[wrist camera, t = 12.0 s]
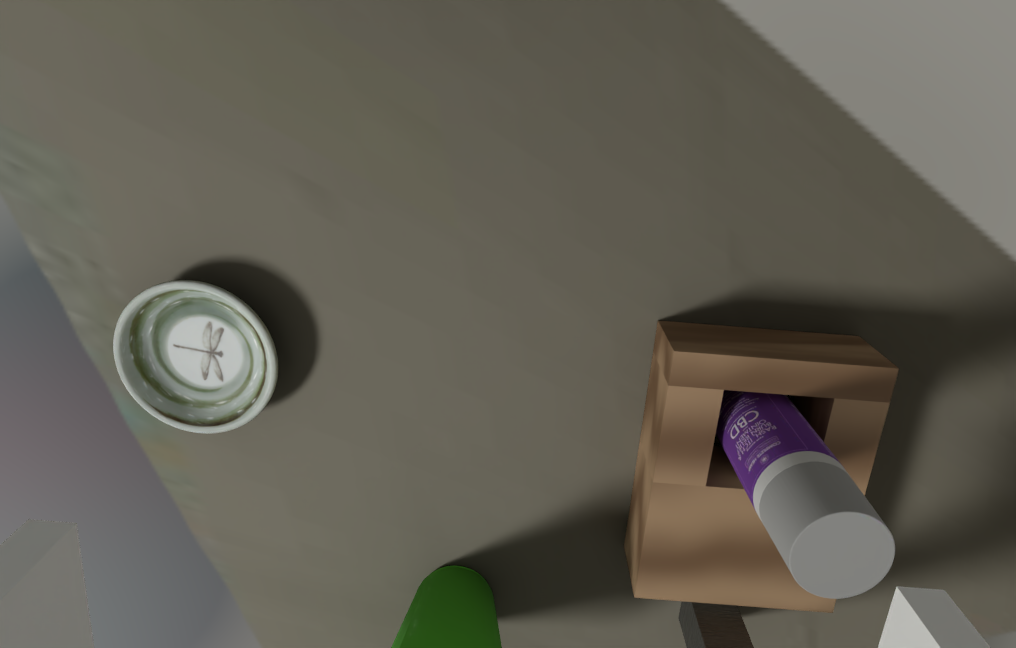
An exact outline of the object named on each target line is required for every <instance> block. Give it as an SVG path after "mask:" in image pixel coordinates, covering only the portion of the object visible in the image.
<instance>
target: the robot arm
mask: <svg viewBox="0 0 1016 648" xmlns="http://www.w3.org/2000/svg"><path fill="white" fill-rule="evenodd" d="M0 648H94V643H93V636H92V629H91V622H90V615H89V608H88V601H87V594H86V587H85V580H84V573H83V566H82V559H81V552H80V545H79V538H78V531H77V524H76V523H67V522H54V521H42V520H27V521H26V522H25V523H24V524H23V525H22V526H21V527H20V528H19V529H17V530H16V531H15V532H14V533H13V534H12V535H11V536H10V537H9V538H8V539H6V541H4V542H3V543H2V544H1V545H0ZM878 648H990V646H989V645H988V644H987V643H986V641H985V640H984V639H983V638H982V636H981V635H980V634H979V633H978V631H977V630H976V629H975V628H974V626H973V625H972V624H971V623H970V621H969V620H968V619H967V618H966V616H965V615H964V614H963V613H962V611H961V610H960V609H959V608H958V606H957V605H956V604H955V603H954V601H953V600H952V599H951V598H950V596H949V595H948V594H947V593H946V591H945V590H938V589H925V588H912V587H899V586H897V587H896V590H895V593H894V597H893V600H892V603H891V606H890V610H889V613H888V616H887V620H886V623H885V626H884V630H883V633H882V636H881V639H880V643H879V646H878Z"/></svg>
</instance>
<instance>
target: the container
mask: <svg viewBox="0 0 1016 648" xmlns="http://www.w3.org/2000/svg"><path fill="white" fill-rule="evenodd" d="M716 435H717V437H718V439H719V441H720V443H721V445H722V447H723V449H724V451H725V453H726V455H727V457H728V458H729V460H730V462H731V464H732V466H733V468H734V470H735V472H736V474H737V476H738V478H739V480H740V482H741V484H742V486H743V488H744V490H745V491H746V493H747V495H748V497H749V499H750V501H751V503H752V505H753V507H754V509H755V511H756V513H757V515H758V516H759V518H760V520H761V521H762V523H763V525H764V527H765V528H766V530H767V532H768V534H769V535H770V537H771V539H772V541H773V542H774V544H775V546H776V548H777V549H778V551H779V553H780V555H781V556H782V558H783V560H784V562H785V563H786V565H787V567H788V569H789V570H790V572H791V574H792V576H793V577H794V579H795V581H796V582H797V583H798V584H799V585H800V586H801V587H802V588H803V589H805V590H806V591H808V592H810V593H811V594H814V595H816V596H820V597H824V598H831V599H840V598H848V597H852V596H856V595H859V594H861V593H863V592H865V591H867V590H869V589H871V588H872V587H874V586H875V585H876V584H878V583H879V582H880V581H881V580H882V579H883V578H884V577H885V576H886V574H887V573H888V571H889V570H890V568H891V566H892V563H893V561H894V557H895V542H894V538H893V536H892V534H891V532H890V530H889V529H888V527H887V526H886V525H885V523H884V522H883V521H882V519H881V518H880V516H879V515H878V514H877V512H876V511H875V510H874V508H873V507H872V505H871V504H870V503H869V501H868V500H867V499H866V497H865V496H864V495H863V493H862V492H861V490H860V489H859V488H858V486H857V485H856V484H855V482H854V481H853V480H852V478H851V477H850V475H849V474H848V473H847V471H846V470H845V468H844V467H843V466H842V464H841V463H840V462H839V461H838V459H837V458H836V457H835V456H834V454H833V453H832V452H831V451H830V449H829V448H828V447H827V446H826V444H825V443H824V442H823V441H822V439H821V438H820V437H819V436H818V434H817V433H816V432H815V431H814V429H813V428H812V427H811V426H810V424H809V423H808V422H807V421H806V419H805V418H804V417H803V416H802V414H801V413H800V412H799V411H798V409H797V408H796V407H795V406H794V404H793V403H792V402H791V401H790V399H789V398H788V397H787V396H786V395H783V394H770V393H757V392H745V391H732V390H724V392H723V397H722V402H721V408H720V413H719V418H718V424H717V429H716Z"/></svg>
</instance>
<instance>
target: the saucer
mask: <svg viewBox="0 0 1016 648" xmlns="http://www.w3.org/2000/svg"><path fill="white" fill-rule="evenodd" d="M113 351H114V358H115V363H116V367H117V370H118V373H119V375H120V377H121V380H122V381H123V383H124V385H125V387H126V388H127V390H128V391H129V393H130V394H131V395H132V397H133V398H134V399H135V400H136V401H137V402H138V403H139V404H140V405H141V406H142V407H143V408H144V409H145V410H146V411H147V412H149V413H150V414H151V415H153V416H154V417H156V418H157V419H159V420H161V421H163V422H164V423H166V424H168V425H171V426H173V427H176V428H178V429H182V430H185V431H190V432H195V433H220V432H226V431H230V430H233V429H236V428H238V427H240V426H242V425H245V424H246V423H248V422H250V421H251V420H252V419H254V418H255V417H256V416H257V415H258V414H260V413H261V411H262V410H263V409H264V408H265V407H266V405H267V404H268V402H269V401H270V399H271V397H272V395H273V393H274V390H275V387H276V383H277V378H278V357H277V353H276V348H275V345H274V342H273V339H272V337H271V335H270V333H269V331H268V329H267V327H266V326H265V324H264V323H263V321H262V320H261V319H260V317H259V316H258V315H257V314H256V313H255V312H254V311H253V310H252V308H251V307H249V306H248V305H247V304H246V303H245V302H244V301H242V300H241V299H240V298H238V297H237V296H235V295H234V294H232V293H230V292H229V291H227V290H225V289H223V288H220V287H218V286H215V285H212V284H209V283H205V282H200V281H193V280H176V281H169V282H164V283H161V284H158V285H155V286H153V287H150V288H148V289H146V290H145V291H143V292H141V293H140V294H139V295H137V296H136V297H135V298H134V299H133V300H132V301H131V302H130V303H129V304H128V305H127V306H126V308H125V309H124V310H123V312H122V314H121V316H120V317H119V320H118V322H117V325H116V328H115V333H114V341H113Z"/></svg>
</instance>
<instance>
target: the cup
mask: <svg viewBox="0 0 1016 648" xmlns="http://www.w3.org/2000/svg"><path fill="white" fill-rule="evenodd" d="M391 648H502V646H501V640H500V634H499V628H498V622H497V615H496V609H495V603H494V597H493V593H492V590H491V588H490V586H489V585H488V583H487V582H486V580H485V579H484V578H483V577H482V576H481V575H480V574H479V573H477V572H475V571H474V570H472V569H469V568H466V567H462V566H446V567H443V568H439V569H437V570H436V571H434V572H432V573H431V574H430V575H429V576H427V577H426V578H425V579H424V580H423V582H422V583H421V585H420V586H419V588H418V590H417V593H416V595H415V597H414V599H413V601H412V603H411V606H410V608H409V610H408V612H407V614H406V617H405V619H404V621H403V623H402V625H401V627H400V630H399V632H398V634H397V636H396V638H395V641H394V643H393V645H392V647H391Z"/></svg>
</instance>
